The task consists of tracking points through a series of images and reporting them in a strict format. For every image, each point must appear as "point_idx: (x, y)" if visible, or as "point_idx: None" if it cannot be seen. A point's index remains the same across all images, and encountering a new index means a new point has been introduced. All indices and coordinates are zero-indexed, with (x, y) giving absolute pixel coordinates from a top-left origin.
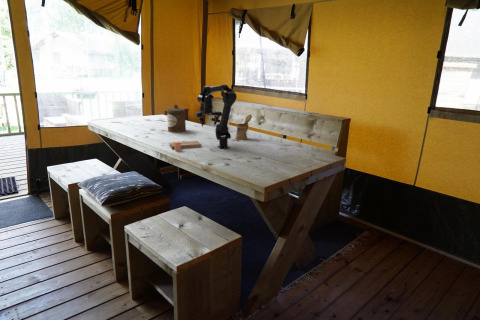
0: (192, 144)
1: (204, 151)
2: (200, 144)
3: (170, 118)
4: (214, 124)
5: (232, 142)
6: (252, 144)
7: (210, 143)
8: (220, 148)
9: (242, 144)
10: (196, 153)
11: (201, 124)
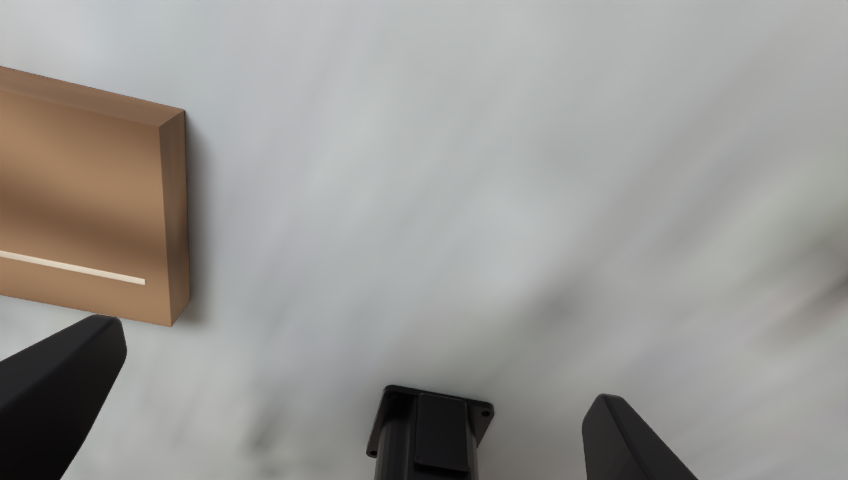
0: (34, 290)
1: (177, 438)
2: (163, 320)
3: None
4: (602, 446)
5: (696, 319)
6: (774, 469)
7: (391, 213)
8: (367, 449)
9: (696, 430)
10: (83, 450)
11: (14, 355)
